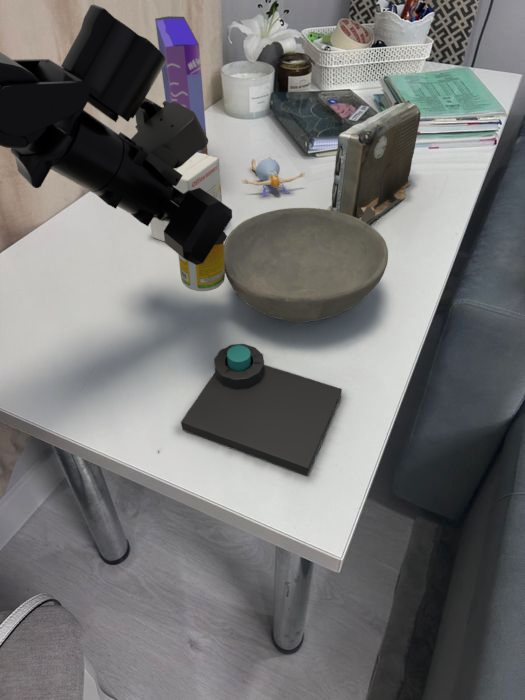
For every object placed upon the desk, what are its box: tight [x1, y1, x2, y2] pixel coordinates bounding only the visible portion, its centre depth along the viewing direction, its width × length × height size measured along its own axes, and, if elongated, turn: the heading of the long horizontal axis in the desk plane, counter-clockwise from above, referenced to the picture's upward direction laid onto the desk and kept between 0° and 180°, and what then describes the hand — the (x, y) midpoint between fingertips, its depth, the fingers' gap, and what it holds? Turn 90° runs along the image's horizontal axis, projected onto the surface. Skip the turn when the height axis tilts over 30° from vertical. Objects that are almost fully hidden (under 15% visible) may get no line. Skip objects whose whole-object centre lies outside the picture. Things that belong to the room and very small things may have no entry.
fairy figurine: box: [242, 156, 305, 198], centre depth 93 cm, size 12×5×12 cm
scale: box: [180, 343, 343, 477], centre depth 55 cm, size 14×12×3 cm
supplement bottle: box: [177, 242, 226, 292], centre depth 60 cm, size 5×5×10 cm
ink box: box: [149, 152, 223, 243], centre depth 78 cm, size 8×8×12 cm
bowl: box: [224, 207, 389, 323], centre depth 67 cm, size 21×21×8 cm
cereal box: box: [154, 15, 209, 155], centre depth 87 cm, size 17×5×24 cm, turn 13°
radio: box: [326, 100, 421, 225], centre depth 84 cm, size 23×9×15 cm, turn 137°
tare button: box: [227, 345, 251, 371], centre depth 57 cm, size 3×3×2 cm
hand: (209, 229), depth 59 cm, fingers closed on supplement bottle, 5 cm apart
